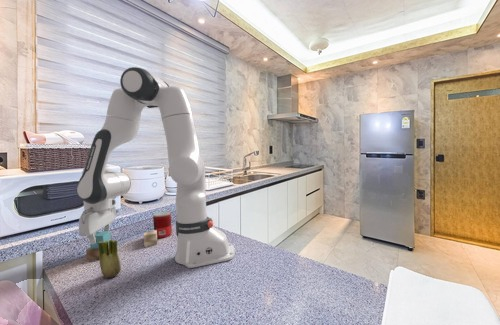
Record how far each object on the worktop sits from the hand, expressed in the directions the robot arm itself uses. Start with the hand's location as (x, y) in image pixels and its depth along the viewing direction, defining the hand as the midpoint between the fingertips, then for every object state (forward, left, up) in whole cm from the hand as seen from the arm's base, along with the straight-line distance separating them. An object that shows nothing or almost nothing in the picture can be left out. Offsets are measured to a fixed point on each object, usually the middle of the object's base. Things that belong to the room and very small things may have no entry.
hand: (100, 238), depth 89 cm
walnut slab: (0, 0, -7) cm, 7 cm away
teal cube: (0, 0, -3) cm, 3 cm away
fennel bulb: (-12, +18, -7) cm, 23 cm away
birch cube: (-17, -7, -7) cm, 19 cm away
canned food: (-20, -16, -7) cm, 26 cm away
